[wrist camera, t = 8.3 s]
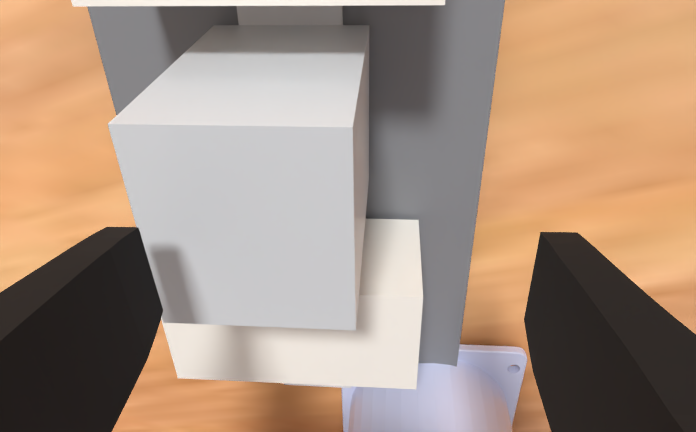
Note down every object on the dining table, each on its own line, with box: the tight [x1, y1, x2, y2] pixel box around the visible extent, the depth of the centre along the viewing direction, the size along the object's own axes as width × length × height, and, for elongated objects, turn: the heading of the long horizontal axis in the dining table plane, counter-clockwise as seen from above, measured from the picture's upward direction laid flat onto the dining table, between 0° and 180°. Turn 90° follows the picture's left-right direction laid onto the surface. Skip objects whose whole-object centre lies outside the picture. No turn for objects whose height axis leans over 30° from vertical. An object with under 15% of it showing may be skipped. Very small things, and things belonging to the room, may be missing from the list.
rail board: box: [87, 0, 505, 388], centre depth 18 cm, size 26×12×1 cm, turn 1°
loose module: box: [108, 25, 369, 330], centre depth 14 cm, size 5×4×7 cm
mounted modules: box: [71, 0, 445, 389], centre depth 15 cm, size 16×8×4 cm, turn 1°
